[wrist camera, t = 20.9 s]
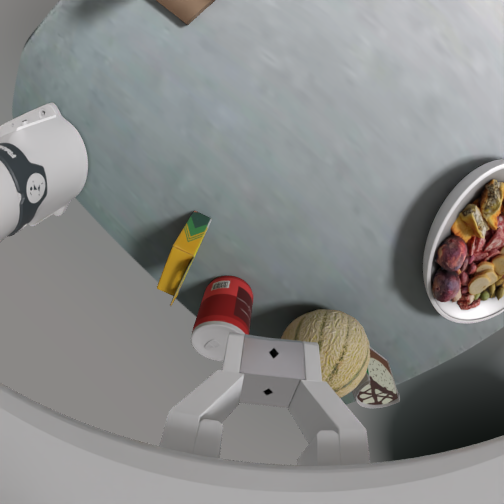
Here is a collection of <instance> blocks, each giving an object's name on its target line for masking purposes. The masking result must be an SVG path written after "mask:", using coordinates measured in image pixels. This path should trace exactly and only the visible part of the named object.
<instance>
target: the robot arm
mask: <svg viewBox="0 0 504 504" xmlns="http://www.w3.org/2000/svg"><path fill="white" fill-rule="evenodd" d="M44 111H45V114H44ZM87 172H88V158H87V152H86V148H85V145H84V142H83V140H82V138H81V136H80V134H79V133H78V131H77V130H76V129H75V127H74V126H73V125H72V124H71V123H69V122H68V121H67V120H65V119H64V118H63V117H62V115H61V113H60V111H59V109H58V108H57V106H56V105H55V104H54V103H48V104H46V105H43V106H41V107H39V108H36V109H34V110H32V111H30V112H27V113H25V114H23V115H21V116H19V117H17V118H15V119H13V120H11V121H9V122H7V123H5V124H3V125H1V126H0V242H1V241H2V240H3V239H4V238H6V237H7V236H12V235H14V234H15V233H16V232H19V231H20V230H22V229H23V228H24V227H25V226H26V225H31V226H34V225H36V224H38V223H40V222H41V221H43V220H44V219H46V218H47V217H49V216H50V215H52V214H53V215H56V216H60V215H62V214H64V212H65V211H66V208H67V206H68V204H69V202H70V201H71V200H72V199H73V198H75V197H76V196H77V195H78V194H79V193H80V192H81V190H82V188H83V186H84V184H85V181H86V178H87ZM239 403H245V404H256V405H266V406H274V407H283V408H288V410H289V412H290V414H291V415H292V417H293V419H294V420H295V422H296V424H297V425H298V427H299V429H300V430H301V432H302V434H303V435H304V437H305V438H306V440H307V442H308V443H309V445H308V446H307V448H306V449H305V450H304V451H303V453H302V454H301V455H300V456H299V458H298V459H297V465H277V464H264V463H253V462H242V461H234V460H227V459H220V458H219V457H220V450H221V441H222V431H223V425H222V422H223V421H224V420H225V419H226V418H227V417H228V416H229V415H230V414H231V413H232V411H233V410H234V409H235V408H236V407H237V406H238V405H239ZM0 504H504V436H501V437H498V438H495V439H492V440H489V441H485V442H482V443H479V444H475V445H471V446H468V447H464V448H460V449H456V450H452V451H447V452H443V453H438V454H433V455H428V456H422V457H417V458H410V459H404V460H397V461H388V462H380V463H370V457H369V448H368V440H367V432H366V429H365V428H364V426H363V425H362V424H361V423H360V421H359V420H358V419H357V418H356V417H355V416H354V414H353V413H352V412H351V411H350V410H349V408H348V407H347V406H346V405H345V404H344V402H343V401H342V400H341V399H340V398H339V396H338V395H337V394H336V393H335V392H334V390H333V389H332V388H331V387H330V386H329V384H328V383H327V382H325V381H322V375H321V364H320V354H319V345H318V343H317V342H306V341H303V342H302V341H297V340H286V339H277V338H267V337H260V336H254V335H248V334H245V336H244V334H240V333H234V332H229V335H228V339H227V345H226V350H225V355H224V361H223V366H222V370H216V371H215V372H214V373H213V374H212V375H211V376H210V377H208V378H207V379H206V380H205V381H204V382H203V383H201V384H200V385H199V386H198V387H197V388H196V389H194V390H193V391H192V392H191V393H190V394H189V395H187V396H186V397H185V398H184V399H183V400H181V401H180V402H179V403H178V404H177V405H175V406H174V407H173V408H172V409H170V411H169V413H168V417H167V420H166V424H165V427H164V431H163V435H162V438H161V442H160V445H159V446H155V445H152V444H148V443H144V442H141V441H137V440H134V439H130V438H127V437H124V436H120V435H117V434H114V433H111V432H108V431H105V430H102V429H100V428H97V427H94V426H91V425H89V424H86V423H83V422H81V421H78V420H76V419H73V418H71V417H68V416H66V415H63V414H61V413H59V412H57V411H55V410H52V409H50V408H48V407H46V406H44V405H42V404H40V403H37V402H35V401H33V400H31V399H29V398H27V397H26V396H23V395H22V394H20V393H18V392H16V391H14V390H12V389H11V388H9V387H7V386H5V385H3V384H2V383H0Z"/></svg>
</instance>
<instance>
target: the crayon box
mask: <svg viewBox="0 0 504 504" xmlns="http://www.w3.org/2000/svg"><path fill="white" fill-rule="evenodd" d="M211 221H212V219H211V218H209V217H207V216H205V215H203V214H201V213H198V212H196V211H194V212H193V213H192V215H191V216H190V218H189V220H188V221H187V223H186V225H185V226H184V228H183V230H182V231H181V233H180V235H179V236H178V238H177V240H176V241H175V243H174V245H173V247H172V249H171V251H170V254H169V257H168V259H167V262H166V264H165V267H164V270H163V272H162V275H161V278H160V280H159V283H158V286H157V289H159V290H162V291H164V292H166V293H168V294H170V295H173V296H174V297H173V300H172V302H171V304H170V306H171V305H172V303H173V302H174V300H175V298H176V297H177V295H178V292H179V290H180V288H181V285H182V283H183V281H184V279H185V276H186V274H187V272H188V270H189V268H190V265H191V264H192V261H193V260H194V258H195V255H196V253H197V251H198V248H199V246H200V244H201V242H202V240H203V238H204V236H205V233H206V231H207V229H208V227H209V225H210V223H211Z"/></svg>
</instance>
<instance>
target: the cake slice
mask: <svg viewBox="0 0 504 504" xmlns="http://www.w3.org/2000/svg"><path fill="white" fill-rule="evenodd" d="M369 347H370V346H369ZM369 349H370V361H369V364H368V368H367V371H366V374H365V376H364V378H363V379H362V381H361V382H360V383H359V384H358V386H357V387H356V388H355V389H354V390H352V393H353V396H354V398H355V400H356V401H357V403H358V404H359V405H361V406H363V407H366V408H381V407H386V406H389V405H392V404H395V403H397V402H399V401H400V397H399V393H398V392H397V389H396V385H395V382H394V379H393V375H392V372H391V369H390V366H389V363H388V360H387V359H385V358H384V357H383V356H381V355H380V354H379V353H377V352H376V351H375V350H373V349H372V348H371V347H370V348H369Z"/></svg>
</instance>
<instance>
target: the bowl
mask: <svg viewBox="0 0 504 504" xmlns="http://www.w3.org/2000/svg"><path fill="white" fill-rule="evenodd" d="M423 277H424V284H425V288H426V291H427V294H428V297H429V299H430V301H431V303H432V305H433V306H434V308H435V309H436V311H437V312H438V313H439V314H440V315H442V316H443V317H444V318H446V319H448V320H450V321H453V322H457V323H476V322H480V321H484V320H487V319H490V318H492V317H494V316H496V315H498V314H500V313H502V312H503V311H504V159H499V160H494V161H491V162H488V163H486V164H484V165H482V166H480V167H478V168H476V169H475V170H473V171H472V172H471V173H469V174H468V175H467V176H466V177H464V178H463V179H462V180H461V181H460V182H459V183H458V184H457V185H456V186H455V188H454V189H453V190H452V191H451V192H450V194H449V195H448V196H447V198H446V199H445V201H444V202H443V204H442V205H441V207H440V209H439V211H438V212H437V214H436V216H435V219H434V221H433V223H432V225H431V228H430V231H429V234H428V237H427V241H426V245H425V250H424V257H423Z"/></svg>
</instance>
